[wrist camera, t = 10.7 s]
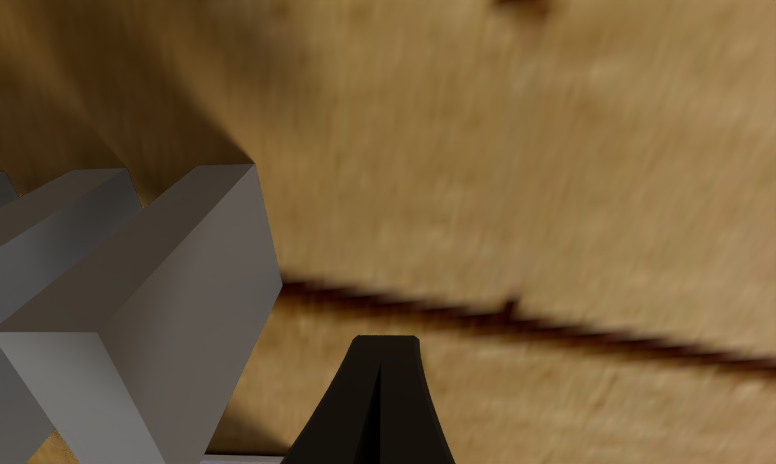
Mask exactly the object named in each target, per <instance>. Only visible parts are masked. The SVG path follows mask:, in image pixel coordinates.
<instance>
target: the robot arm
mask: <svg viewBox="0 0 776 464" xmlns="http://www.w3.org/2000/svg"><path fill="white" fill-rule="evenodd" d="M200 464H455V461H454V459H453V457H452V454H451V452H450V449H449V447H448V444H447V442H446V439H445V436H444V434H443V431H442V428H441V426H440V423H439V420H438V417H437V414H436V411H435V408H434V405H433V403H432V399H431V396H430V393H429V389H428V386H427V382H426V378H425V374H424V370H423V366H422V360H421V354H420V342H419V339H418V338H417V337H415V336H402V335H358V336H356V337H355V338H354V339H353V341H352V343H351V345H350V347H349V350H348V352H347V354H346V356H345V358H344V360H343V362H342V364H341V366H340V368H339V370H338V371H337V373H336V375H335V377H334V379H333V381H332V382H331V384H330V386H329V388H328V390H327V391H326V393H325V395H324V396H323V398H322V399H321V401H320V403H319V404H318V406H317V408H316V409H315V411H314V413H313V414H312V416H311V418H310V419H309V421H308V423H307V424H306V426H305V427H304V429H303V430H302V432H301V433H300V435H299V436H298V438H297V439H296V441H295V442H294V444H293V445H292V446H291V448H290V449H289V451H288V452H287V454H286V455H285V457H275V456H239V455H203V458H202V460H201V462H200Z"/></svg>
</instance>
